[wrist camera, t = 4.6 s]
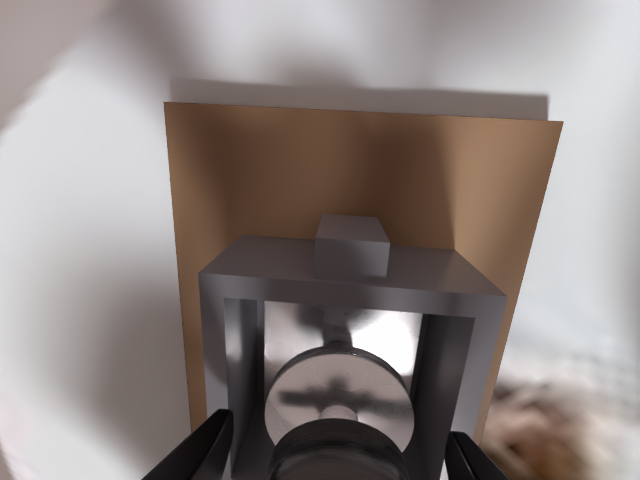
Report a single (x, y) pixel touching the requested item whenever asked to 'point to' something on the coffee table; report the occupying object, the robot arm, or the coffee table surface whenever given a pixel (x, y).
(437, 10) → the coffee table surface
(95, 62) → the coffee table surface
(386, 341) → the plunger
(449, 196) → the board
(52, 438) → the coffee table surface
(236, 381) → the press
